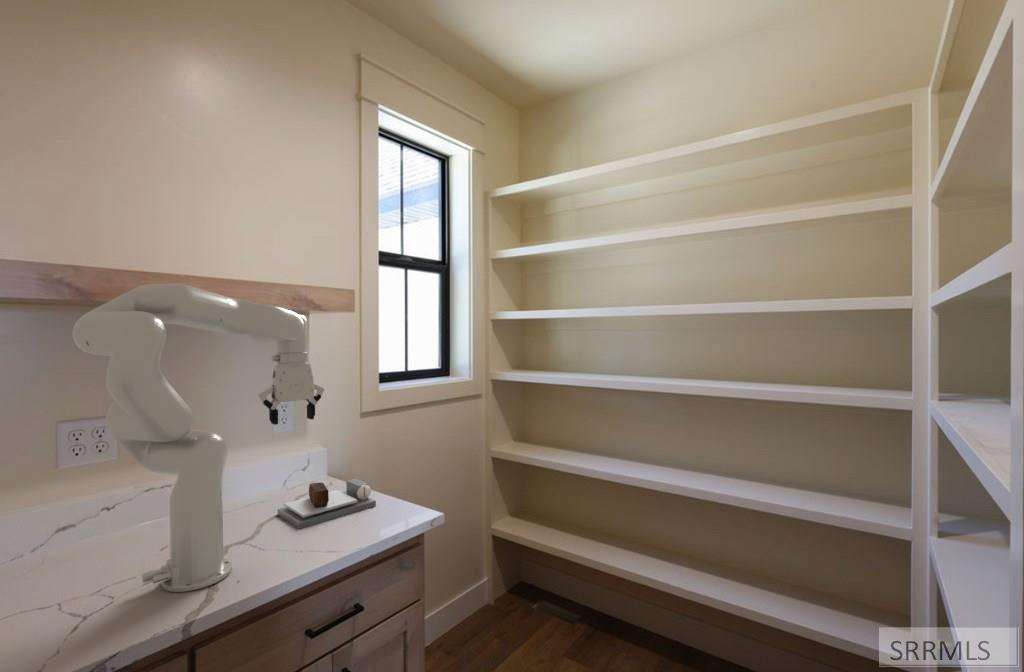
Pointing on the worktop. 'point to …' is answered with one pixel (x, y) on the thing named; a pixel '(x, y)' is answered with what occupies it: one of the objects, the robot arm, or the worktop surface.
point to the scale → (329, 505)
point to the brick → (318, 494)
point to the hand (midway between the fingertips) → (292, 421)
